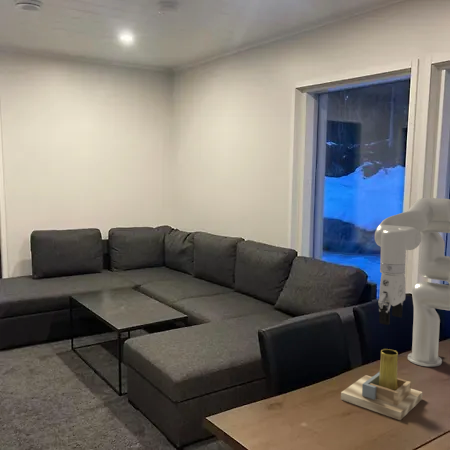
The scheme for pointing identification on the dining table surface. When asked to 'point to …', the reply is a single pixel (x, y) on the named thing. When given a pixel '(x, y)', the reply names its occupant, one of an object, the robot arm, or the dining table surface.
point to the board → (384, 398)
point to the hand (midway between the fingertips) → (390, 320)
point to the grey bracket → (370, 387)
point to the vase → (388, 369)
